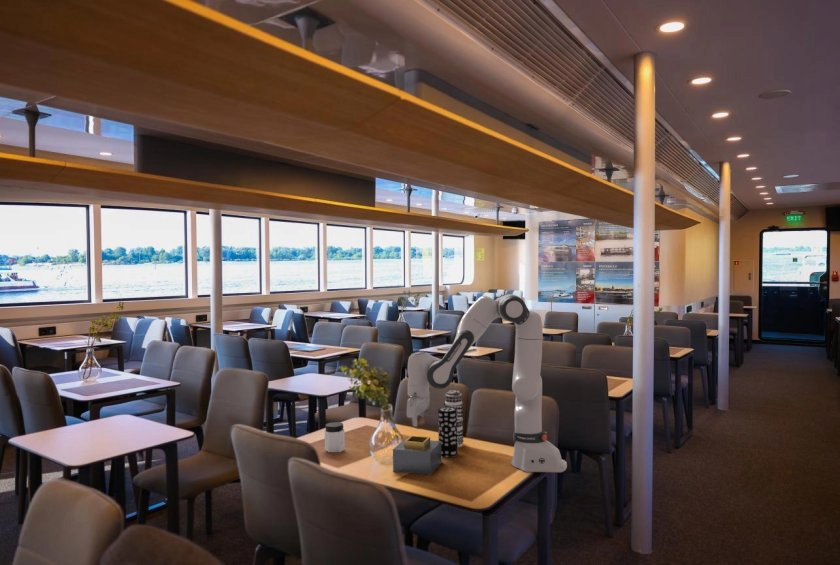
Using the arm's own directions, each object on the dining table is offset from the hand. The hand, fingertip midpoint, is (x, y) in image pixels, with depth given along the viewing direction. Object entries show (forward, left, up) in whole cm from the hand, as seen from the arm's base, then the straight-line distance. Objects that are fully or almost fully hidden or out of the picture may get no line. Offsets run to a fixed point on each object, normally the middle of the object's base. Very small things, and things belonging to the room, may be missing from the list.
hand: (418, 423), depth 240 cm
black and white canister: (-6, -34, -18) cm, 39 cm away
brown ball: (0, 0, -2) cm, 2 cm away
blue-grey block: (+1, 0, -18) cm, 18 cm away
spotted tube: (-7, -19, -18) cm, 28 cm away
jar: (+45, -12, -18) cm, 50 cm away
